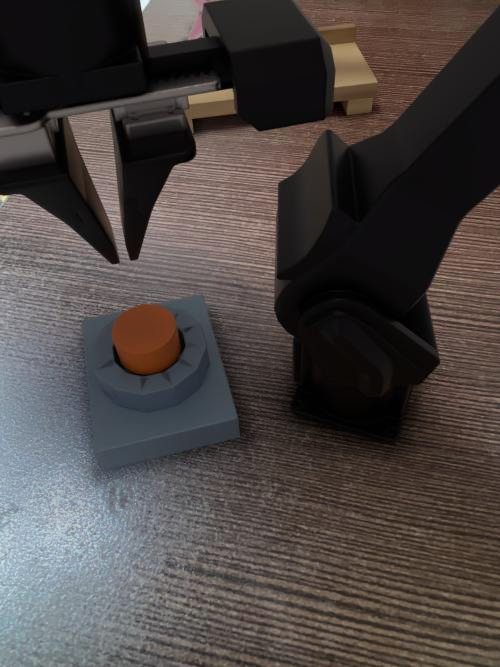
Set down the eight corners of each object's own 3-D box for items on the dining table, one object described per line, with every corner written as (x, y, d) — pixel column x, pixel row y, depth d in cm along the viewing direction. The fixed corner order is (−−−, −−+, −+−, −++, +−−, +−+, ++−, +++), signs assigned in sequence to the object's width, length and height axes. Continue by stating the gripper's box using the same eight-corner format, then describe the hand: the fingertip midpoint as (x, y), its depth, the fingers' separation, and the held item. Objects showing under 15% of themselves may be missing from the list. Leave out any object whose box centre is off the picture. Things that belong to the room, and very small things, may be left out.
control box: (240, 438, 35) (236, 399, 32) (103, 472, 34) (86, 436, 31) (205, 315, 41) (199, 273, 38) (89, 340, 40) (73, 300, 37)
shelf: (374, 112, 57) (380, 65, 54) (165, 137, 56) (157, 91, 52) (350, 67, 63) (354, 23, 59) (160, 89, 62) (152, 45, 58)
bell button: (186, 367, 34) (181, 344, 32) (122, 381, 34) (115, 359, 32) (175, 321, 36) (170, 298, 35) (115, 334, 36) (108, 311, 34)
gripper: (255, -219, 24) (264, 135, 36) (-256, -167, 21) (-62, 194, 33) (359, -156, 17) (326, 259, 29) (-386, -68, 14) (-81, 345, 26)
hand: (124, 256), depth 29 cm, fingers closed
